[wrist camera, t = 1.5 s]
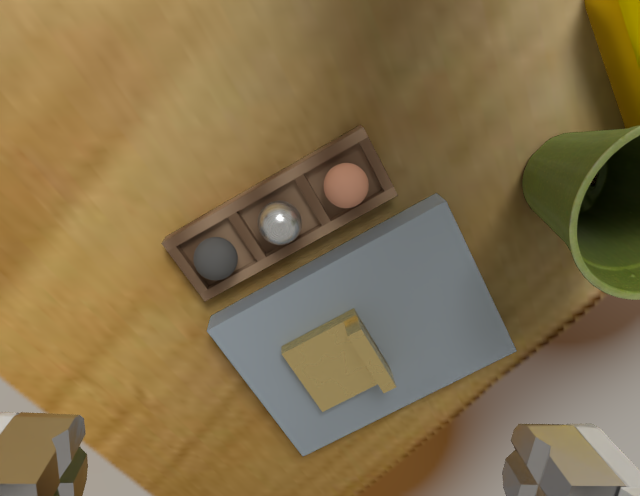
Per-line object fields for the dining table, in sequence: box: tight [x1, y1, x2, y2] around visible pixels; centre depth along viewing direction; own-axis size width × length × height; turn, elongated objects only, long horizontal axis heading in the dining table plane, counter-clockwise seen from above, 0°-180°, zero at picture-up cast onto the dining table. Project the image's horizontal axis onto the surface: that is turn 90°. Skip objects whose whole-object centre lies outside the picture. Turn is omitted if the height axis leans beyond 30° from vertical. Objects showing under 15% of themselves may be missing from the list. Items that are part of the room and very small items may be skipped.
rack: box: [161, 125, 398, 301], centre depth 38 cm, size 18×6×2 cm, turn 119°
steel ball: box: [257, 201, 302, 245], centre depth 37 cm, size 3×3×3 cm
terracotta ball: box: [324, 163, 369, 208], centre depth 36 cm, size 3×3×3 cm
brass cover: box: [281, 308, 396, 412], centre depth 40 cm, size 7×7×3 cm
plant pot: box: [522, 125, 640, 300], centre depth 35 cm, size 12×12×11 cm
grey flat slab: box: [207, 193, 516, 456], centre depth 42 cm, size 22×16×2 cm
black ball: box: [193, 237, 238, 280], centre depth 37 cm, size 3×3×3 cm
